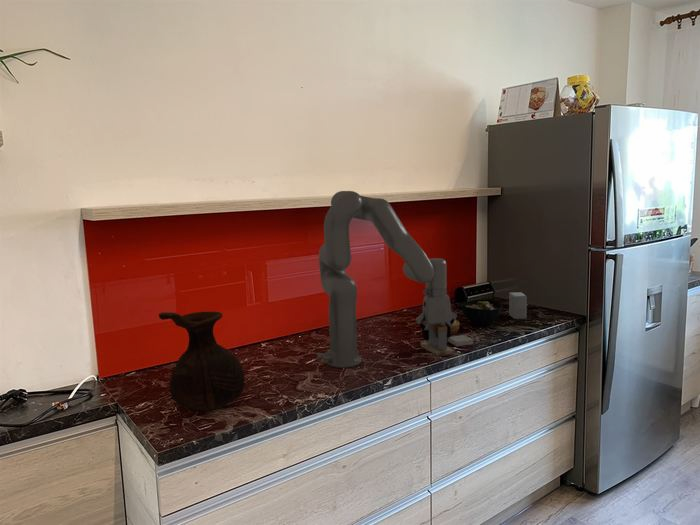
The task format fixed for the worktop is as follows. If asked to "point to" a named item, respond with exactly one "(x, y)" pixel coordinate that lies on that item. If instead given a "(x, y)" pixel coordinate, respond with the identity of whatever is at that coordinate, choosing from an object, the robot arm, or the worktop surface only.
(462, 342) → the tile
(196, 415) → the worktop surface
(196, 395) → the jug
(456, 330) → the pastry
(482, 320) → the bowl
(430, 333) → the brown rectangular block
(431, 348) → the board
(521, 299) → the small box
